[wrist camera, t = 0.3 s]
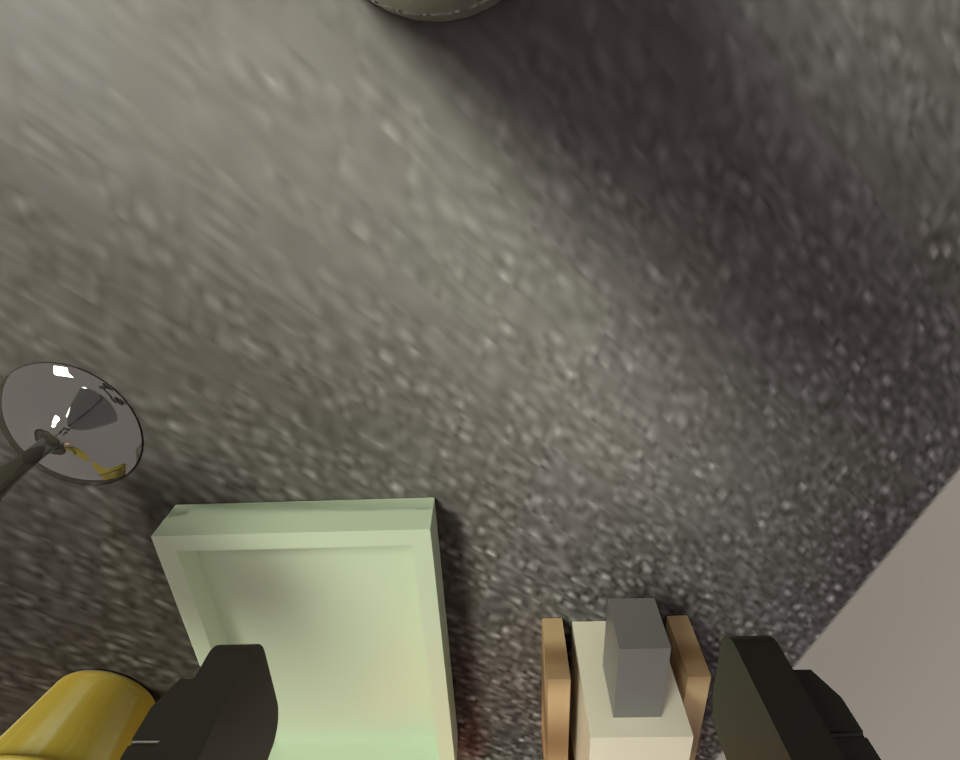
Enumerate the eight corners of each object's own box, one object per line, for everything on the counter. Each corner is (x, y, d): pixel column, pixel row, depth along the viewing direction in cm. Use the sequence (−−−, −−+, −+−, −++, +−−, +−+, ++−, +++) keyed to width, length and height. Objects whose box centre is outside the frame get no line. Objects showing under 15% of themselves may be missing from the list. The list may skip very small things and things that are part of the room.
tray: (175, 504, 31) (150, 536, 28) (434, 497, 30) (430, 529, 28) (255, 737, 39) (241, 775, 37) (457, 734, 39) (456, 773, 37)
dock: (541, 618, 34) (548, 679, 30) (687, 615, 34) (711, 676, 30) (541, 734, 39) (546, 798, 35) (669, 732, 39) (687, 797, 35)
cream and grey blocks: (574, 557, 32) (595, 668, 26) (663, 555, 32) (706, 666, 26) (568, 717, 38) (584, 838, 32) (643, 716, 38) (674, 837, 32)
